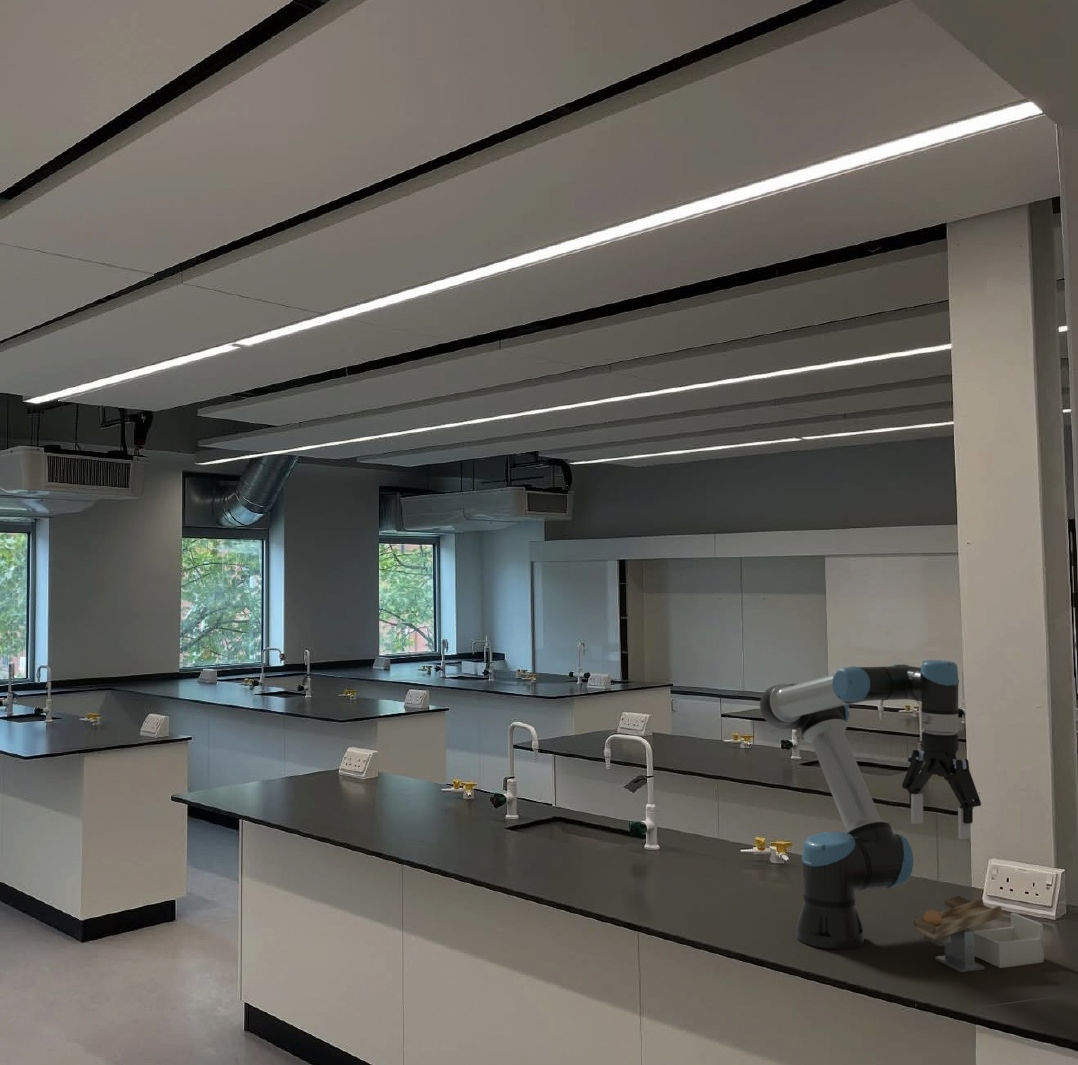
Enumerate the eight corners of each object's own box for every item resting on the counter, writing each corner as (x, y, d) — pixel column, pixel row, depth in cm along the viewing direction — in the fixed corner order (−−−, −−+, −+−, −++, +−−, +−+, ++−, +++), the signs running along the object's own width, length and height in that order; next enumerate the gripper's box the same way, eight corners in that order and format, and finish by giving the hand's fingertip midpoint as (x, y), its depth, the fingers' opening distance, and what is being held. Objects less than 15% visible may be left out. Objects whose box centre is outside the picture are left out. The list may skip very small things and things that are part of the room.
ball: (922, 927, 219) (917, 911, 219) (935, 921, 220) (931, 905, 220) (933, 932, 216) (929, 916, 216) (947, 926, 217) (942, 910, 217)
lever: (935, 949, 214) (931, 926, 214) (896, 929, 227) (892, 908, 227) (1004, 925, 220) (1000, 903, 220) (962, 908, 232) (958, 887, 232)
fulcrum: (961, 972, 215) (960, 934, 215) (935, 959, 222) (934, 922, 223) (984, 969, 216) (983, 931, 217) (958, 956, 224) (957, 920, 225)
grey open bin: (971, 954, 225) (970, 917, 226) (1014, 949, 229) (1013, 912, 229) (999, 967, 217) (998, 929, 218) (1044, 962, 221) (1042, 924, 221)
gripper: (885, 724, 232) (885, 819, 232) (971, 742, 210) (972, 846, 209) (911, 723, 235) (911, 816, 235) (998, 740, 212) (999, 843, 212)
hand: (940, 830), depth 222 cm, fingers open, 13 cm apart
